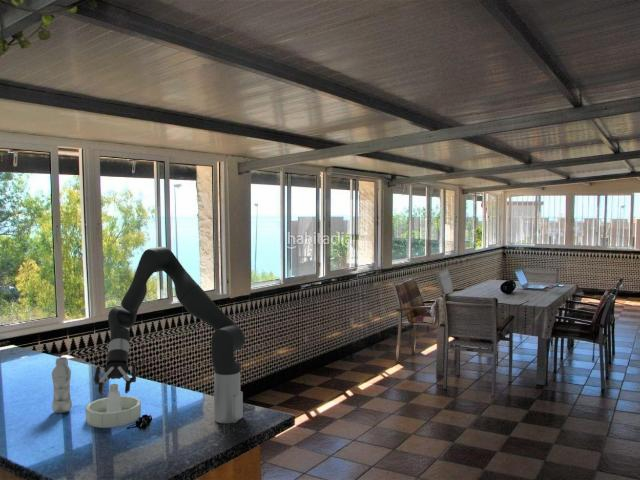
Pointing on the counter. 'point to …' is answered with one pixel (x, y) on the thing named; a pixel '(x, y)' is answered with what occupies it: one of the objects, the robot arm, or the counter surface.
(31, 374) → the counter surface
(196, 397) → the counter surface
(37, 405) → the counter surface
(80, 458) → the counter surface
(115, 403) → the salt shaker
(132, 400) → the bowl
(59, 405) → the plastic bottle
